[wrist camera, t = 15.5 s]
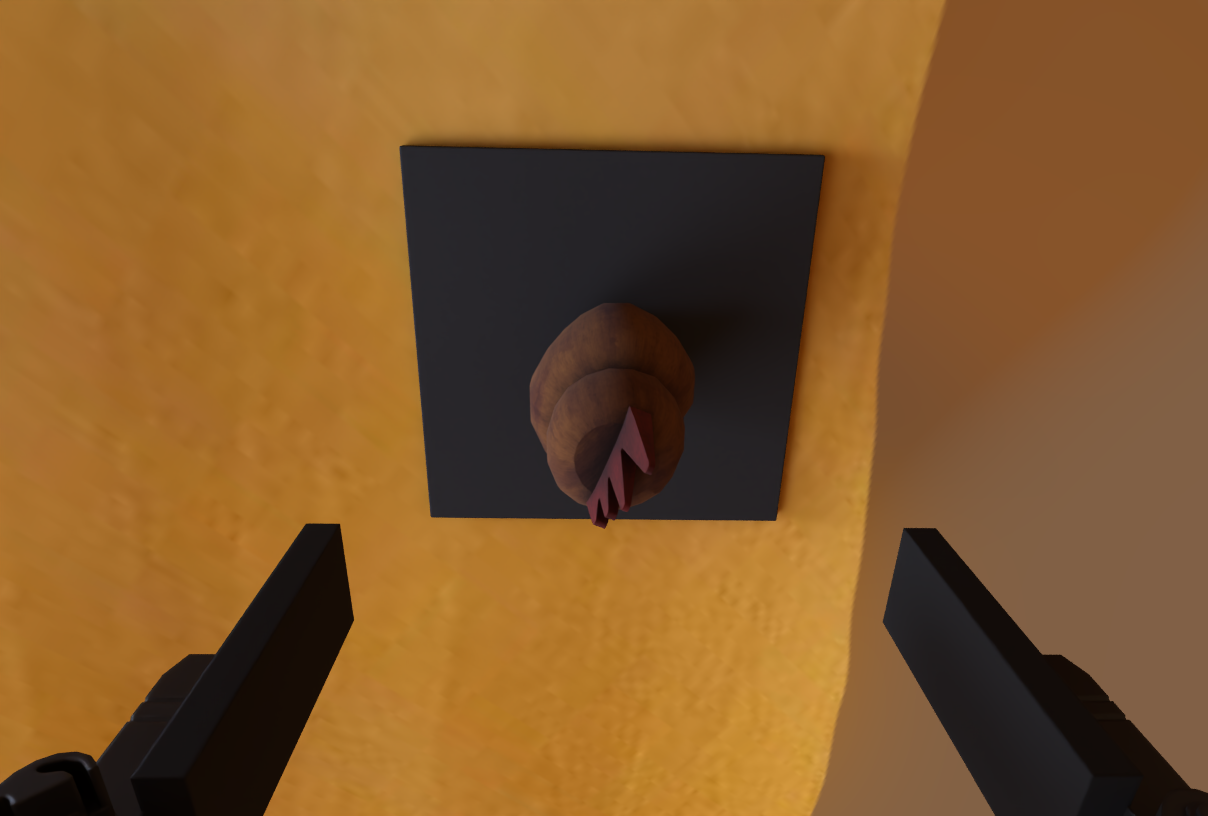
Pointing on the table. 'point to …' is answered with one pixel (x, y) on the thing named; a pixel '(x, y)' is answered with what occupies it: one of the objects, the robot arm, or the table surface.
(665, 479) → the wooden figurine
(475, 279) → the mat
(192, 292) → the table surface
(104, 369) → the table surface
